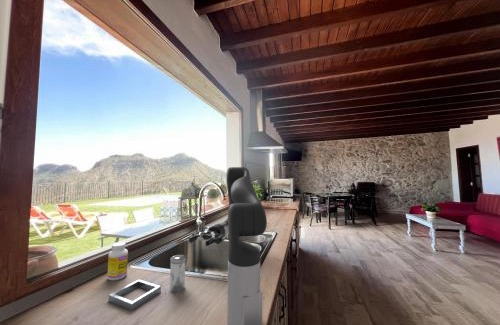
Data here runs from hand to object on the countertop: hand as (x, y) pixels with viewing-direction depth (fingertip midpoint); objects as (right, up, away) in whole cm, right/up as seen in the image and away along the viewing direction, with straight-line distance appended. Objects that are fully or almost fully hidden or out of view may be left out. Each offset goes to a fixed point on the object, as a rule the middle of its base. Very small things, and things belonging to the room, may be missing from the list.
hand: (197, 241), depth 87 cm
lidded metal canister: (-5, -13, -11) cm, 17 cm away
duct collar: (-17, -12, -16) cm, 26 cm away
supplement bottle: (-31, -13, -3) cm, 34 cm away
